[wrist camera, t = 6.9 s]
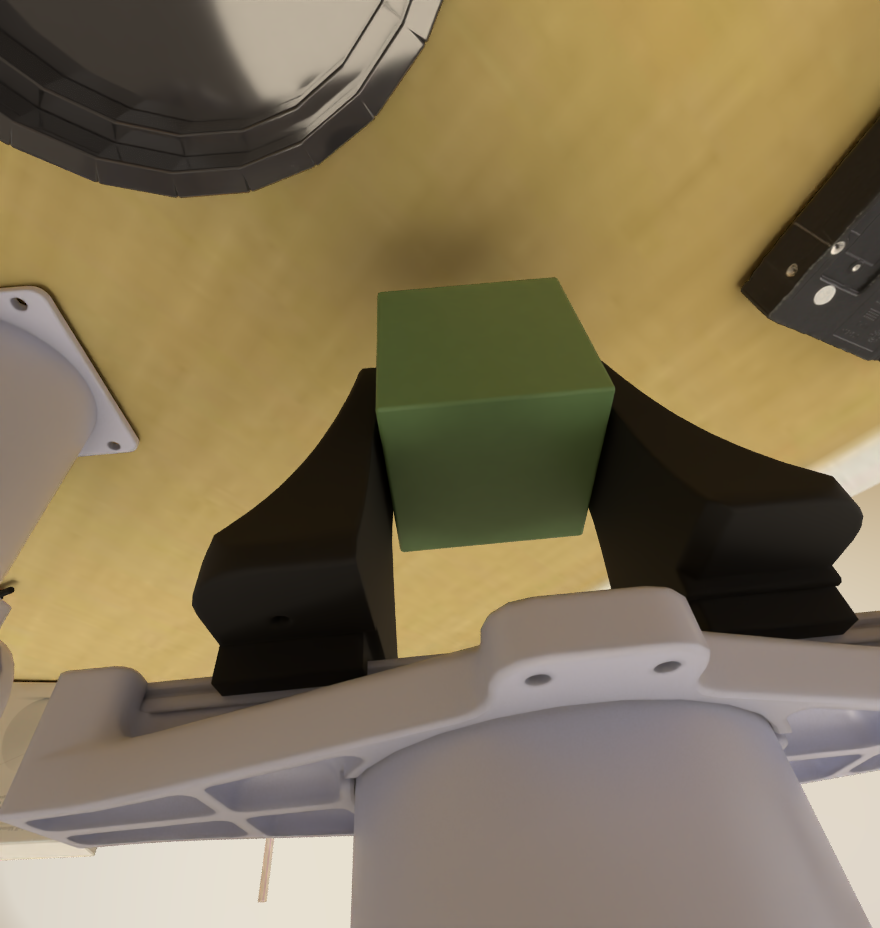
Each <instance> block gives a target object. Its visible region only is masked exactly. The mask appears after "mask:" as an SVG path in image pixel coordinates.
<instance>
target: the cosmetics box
mask: <svg viewBox="0 0 880 928" xmlns="http://www.w3.org/2000/svg"><path fill="white" fill-rule="evenodd" d="M55 685H56V683H54V682H13V684H12V689H11V693H10V696H9V699H8V702H7V705H6V707H5V710H4V712H3V715H2V717H1V719H0V808H1V806H2V804H3V802H4V799H5V797H6V795H7V793H8V791H9V788H10V786H11V784H12V782H13V779H14V777H15V775H16V773H17V770H18V768H19V766H20V764H21V761H22V759H23V757H24V755H25V752H26V750H27V748H28V746H29V743H30V741H31V739H32V737H33V735H34V732H35V730H36V728H37V726H38V723H39V721H40V719H41V717H42V714H43V712H44V710H45V708H46V705H47V703H48V701H49V699H50V696H51V694H52V692H53V690H54V687H55ZM96 849H97V847H93V848H84V849H79V848H76V847H73V846H70V845H67V844H64V843H61V842H59V841H56V840H53V839H50V838H47V837H44V836H41V835H38V834H36V833H33V832H30V831H27V830H24V829H21V828H18V827H15V826H13V825H10V824H7V823H4V822H1V821H0V861H3V860H22V859H43V858H65V857H86V856H94V855H95V852H96Z"/></svg>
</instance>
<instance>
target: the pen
mask: <svg viewBox="0 0 880 928" xmlns="http://www.w3.org/2000/svg"><path fill="white" fill-rule="evenodd" d="M13 592H14V588H13V587H8V588H6V589H3V590H0V598H1V599H3V596H5V595H8V594H11V593H13Z"/></svg>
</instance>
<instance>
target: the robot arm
mask: <svg viewBox="0 0 880 928" xmlns="http://www.w3.org/2000/svg"><path fill="white" fill-rule="evenodd" d="M16 298H20V299H21V300H23V301H24V302H25V303H26V304H27V306H26V305H23V304H21V303H20V302H19V301H18V300H17V299H16ZM601 362H602V364H603V366H604V367H605V369H606V371H607V373H608V375H609V377H610V379H611V381H612V383H613V384H614V386H615V393H614V398H613V402H612V406H611V411H610V415H609V419H608V424H607V428H606V433H605V437H604V441H603V446H602V450H601V454H600V459H599V463H598V468H597V472H596V476H595V481H594V485H593V489H592V494H591V498H590V503H589V510H590V513H591V516H592V519H593V522H594V525H595V529H596V532H597V536H598V539H599V543H600V547H601V550H602V554H603V558H604V562H605V566H606V570H607V574H608V578H609V582H610V586H611V589H609V590H599V591H588V592H578V593H568V594H557V595H547V596H537V597H530V598H525V599H521V600H517V601H513V602H508V603H507V604H505V605H503V606H502V607H500V608H498V609H497V610H495V611H493V612H492V613H491V614H490V615H489V616H488V617H487V619H486V621H485V622H484V624H483V626H482V628H481V643H480V645H478V646H475V647H471V648H467V649H463V650H460V651H456V652H452V653H447V654H437V655H427V656H416V657H406V658H398V655H397V638H396V619H395V599H394V578H393V553H392V523H393V505H392V500H391V494H390V488H389V483H388V477H387V472H386V466H385V460H384V455H383V449H382V444H381V438H380V432H379V427H378V421H377V416H376V368H365V369H362V370H361V371H360V372H359V374H358V376H357V379H356V381H355V383H354V386H353V388H352V390H351V392H350V394H349V396H348V398H347V399H346V401H345V403H344V405H343V407H342V408H341V410H340V412H339V414H338V415H337V417H336V419H335V420H334V422H333V423H332V425H331V426H330V428H329V429H328V431H327V432H326V434H325V435H324V437H323V438H322V439H321V441H320V442H319V444H318V445H317V446H316V447H315V449H314V450H313V451H312V453H311V454H310V455H309V456H308V457H307V459H306V460H305V461H304V462H303V463H302V464H301V465H300V467H299V468H298V469H297V470H296V471H295V472H294V473H293V474H292V475H291V476H290V477H289V478H288V479H287V480H286V481H285V482H284V483H283V484H282V485H281V486H280V487H279V488H278V489H276V490H275V491H274V492H273V493H272V494H271V495H269V496H268V497H267V498H266V499H265V500H263V501H262V502H261V503H259V504H258V505H257V506H256V507H254V508H253V509H252V510H250V511H249V512H248V513H246V514H245V515H244V516H242V517H241V518H239V519H238V520H236V521H235V522H233V523H232V524H230V525H229V526H227V527H226V528H224V529H223V530H221V531H220V532H218V533H217V534H215V535H214V537H213V539H212V542H211V544H210V546H209V548H208V550H207V552H206V555H205V557H204V560H203V562H202V565H201V569H200V572H199V576H198V579H197V582H196V586H195V589H194V592H193V598H192V606H193V608H194V610H195V612H196V614H197V616H198V617H199V618H200V620H201V621H202V622H203V624H204V625H205V626H206V628H207V629H208V630H209V632H210V633H211V634H212V636H213V637H214V638H215V639H216V641H217V642H218V643H219V645H220V647H219V651H218V656H217V660H216V664H215V668H214V673H213V677H204V678H194V679H184V680H173V681H163V682H153V683H147V681H146V680H145V679H144V677H143V676H142V675H141V674H140V673H139V672H138V671H136V670H134V669H132V668H128V667H119V666H113V667H103V668H93V669H83V670H72V671H66V672H63V673H61V674H60V676H59V678H58V681H57V683H56V685H55V687H54V690H53V692H52V694H51V696H50V699H49V701H48V703H47V705H46V708H45V710H44V712H43V714H42V717H41V719H40V721H39V723H38V726H37V728H36V730H35V732H34V735H33V737H32V739H31V741H30V743H29V746H28V748H27V750H26V752H25V755H24V757H23V759H22V761H21V764H20V766H19V768H18V770H17V773H16V775H15V777H14V779H13V782H12V784H11V786H10V788H9V791H8V793H7V795H6V797H5V799H4V802H3V804H2V806H1V808H0V821H1V822H4V823H7V824H10V825H13V826H15V827H18V828H21V829H24V830H27V831H30V832H33V833H36V834H38V835H41V836H44V837H47V838H50V839H53V840H56V841H59V842H61V843H64V844H67V845H70V846H73V847H76V848H79V849H84V848H93V847H104V846H115V845H126V844H139V843H156V842H171V841H195V840H220V839H221V840H222V839H254V838H255V839H257V838H293V837H328V836H354V843H353V875H352V903H351V928H872V927H871V925H870V923H869V921H868V919H867V917H866V915H865V913H864V911H863V909H862V907H861V905H860V903H859V901H858V899H857V897H856V895H855V893H854V891H853V889H852V887H851V885H850V883H849V881H848V879H847V877H846V875H845V873H844V871H843V869H842V867H841V865H840V863H839V861H838V859H837V857H836V855H835V853H834V851H833V849H832V847H831V845H830V843H829V841H828V839H827V837H826V835H825V833H824V831H823V829H822V827H821V825H820V823H819V821H818V819H817V817H816V815H815V813H814V811H813V809H812V807H811V805H810V803H809V801H808V799H807V797H806V795H805V793H804V791H803V789H802V787H801V785H800V784H804V783H810V782H816V781H822V780H827V779H833V778H839V777H844V776H849V775H855V774H861V773H866V772H872V771H877V770H880V611H872V612H862V613H854V612H853V611H852V609H851V608H850V606H849V605H848V604H847V602H846V601H845V599H844V598H843V597H842V595H841V594H840V592H839V591H838V589H837V588H836V587H835V586H838V585H840V583H841V577H840V576H839V574H838V573H837V571H836V570H835V569H834V567H833V566H832V565H833V564H834V562H835V561H836V560H837V559H838V558H839V556H840V555H841V554H842V553H843V552H844V550H845V549H846V548H847V547H848V546H849V544H850V543H851V542H852V541H853V540H854V538H855V536H856V535H857V533H858V532H859V530H860V528H861V526H862V520H863V515H862V512H861V509H860V507H859V506H858V505H857V504H856V503H855V502H854V500H853V499H852V498H851V497H850V496H849V495H848V493H847V492H846V491H845V490H844V489H843V488H842V486H841V485H840V484H839V483H838V482H837V481H836V480H835V478H834V477H833V476H829V475H826V474H822V473H819V472H815V471H812V470H808V469H805V468H801V467H798V466H794V465H791V464H787V463H784V462H781V461H778V460H775V459H773V458H770V457H767V456H764V455H761V454H758V453H756V452H753V451H751V450H748V449H746V448H743V447H740V446H738V445H736V444H733V443H731V442H729V441H727V440H724V439H722V438H720V437H718V436H715V435H713V434H711V433H709V432H707V431H705V430H703V429H701V428H699V427H697V426H696V425H694V424H692V423H690V422H688V421H686V420H685V419H683V418H681V417H679V416H678V415H676V414H674V413H673V412H671V411H669V410H668V409H666V408H665V407H663V406H662V405H660V404H659V403H657V402H656V401H654V400H653V399H651V398H650V397H648V396H647V395H645V394H644V393H642V392H641V391H640V390H638V389H637V388H636V387H634V386H633V385H632V384H630V383H629V382H628V381H626V380H625V379H624V378H623V377H621V376H620V375H619V374H617V373H616V372H615V371H614V370H612V369H611V368H610V367H609V366H608V365H606V364H605V363H604V362H603V361H601ZM113 442H116V443H118V444H115V443H113ZM138 445H139V439H138V438H137V436H136V434H135V433H134V431H133V429H132V428H131V426H130V425H129V423H128V421H127V420H126V418H125V416H124V415H123V413H122V412H121V410H120V408H119V407H118V405H117V403H116V402H115V400H114V399H113V397H112V395H111V394H110V392H109V391H108V389H107V387H106V386H105V384H104V382H103V381H102V379H101V378H100V376H99V374H98V373H97V371H96V369H95V368H94V366H93V365H92V363H91V361H90V360H89V358H88V356H87V355H86V353H85V352H84V350H83V348H82V347H81V345H80V343H79V342H78V340H77V339H76V337H75V335H74V334H73V332H72V331H71V329H70V327H69V326H68V324H67V322H66V321H65V319H64V318H63V316H62V314H61V313H60V311H59V309H58V308H57V306H56V305H55V303H54V301H53V300H52V298H51V297H50V296H49V294H48V293H47V292H45V291H44V290H42V289H41V288H38V287H36V286H20V287H8V288H0V584H1V582H2V581H3V579H4V577H5V576H6V574H7V572H8V571H9V569H10V567H11V566H12V564H13V562H14V561H15V559H16V558H17V556H18V554H19V553H20V551H21V549H22V548H23V546H24V544H25V543H26V541H27V539H28V538H29V536H30V534H31V533H32V531H33V529H34V528H35V526H36V524H37V523H38V521H39V519H40V518H41V516H42V514H43V513H44V511H45V509H46V508H47V506H48V504H49V503H50V501H51V499H52V498H53V496H54V495H55V493H56V491H57V490H58V488H59V486H60V485H61V483H62V481H63V480H64V478H65V476H66V475H67V473H68V471H69V470H70V468H71V466H72V465H73V463H74V461H75V460H76V458H77V457H80V456H91V455H103V454H114V453H125V452H132V451H135V450H136V449H137V447H138ZM10 610H11V606H10V605H9V604H7V603H6V602H4V601H3V600H2V599H1V598H0V628H1V626H2V624H3V622H4V621H5V619H6V617H7V615H8V614H9V612H10ZM13 679H14V661H13V656H12V653H11V652H10V650H9V648H8V647H7V645H6V644H4V643H3V642H2V641H1V640H0V719H1V717H2V715H3V712H4V710H5V707H6V705H7V702H8V699H9V696H10V693H11V689H12V684H13Z"/></svg>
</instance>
